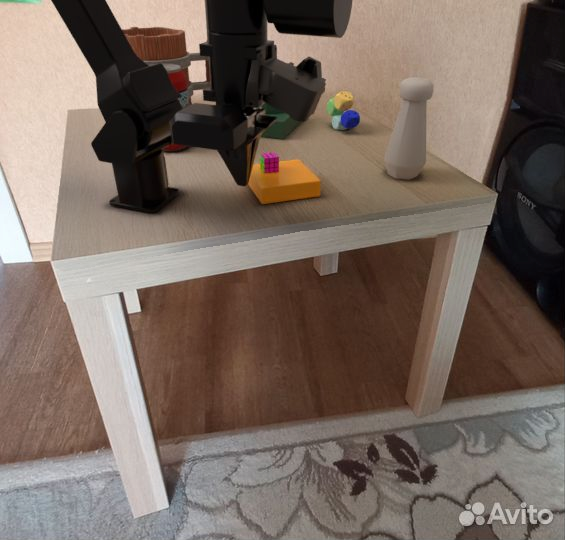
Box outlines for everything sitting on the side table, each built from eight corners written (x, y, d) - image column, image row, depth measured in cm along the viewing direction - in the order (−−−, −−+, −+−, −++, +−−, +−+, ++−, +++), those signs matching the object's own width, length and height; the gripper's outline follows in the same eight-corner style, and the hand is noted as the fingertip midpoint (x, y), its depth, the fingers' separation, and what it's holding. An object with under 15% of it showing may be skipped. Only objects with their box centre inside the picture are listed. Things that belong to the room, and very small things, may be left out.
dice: (359, 134, 83) (363, 96, 79) (346, 135, 82) (350, 98, 78) (336, 121, 89) (339, 86, 85) (324, 123, 88) (326, 87, 84)
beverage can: (180, 155, 73) (170, 73, 66) (142, 149, 75) (129, 69, 68) (200, 141, 78) (193, 64, 72) (164, 137, 80) (154, 61, 73)
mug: (117, 112, 92) (101, 26, 84) (210, 102, 99) (205, 22, 91) (130, 132, 82) (114, 37, 73) (234, 120, 89) (230, 32, 80)
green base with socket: (283, 139, 80) (283, 109, 77) (229, 132, 82) (228, 103, 80) (304, 118, 90) (305, 91, 87) (256, 113, 93) (255, 87, 90)
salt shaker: (423, 184, 65) (442, 85, 58) (381, 180, 66) (395, 82, 59) (421, 168, 70) (439, 75, 62) (382, 165, 71) (395, 73, 63)
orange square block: (298, 173, 67) (299, 144, 65) (320, 196, 61) (322, 165, 59) (244, 180, 65) (243, 150, 63) (261, 204, 59) (261, 172, 57)
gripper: (287, 52, 35) (284, 235, 43) (342, 24, 49) (331, 165, 58) (155, 42, 38) (177, 216, 46) (244, 18, 52) (248, 154, 61)
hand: (242, 184), depth 53 cm, fingers closed
